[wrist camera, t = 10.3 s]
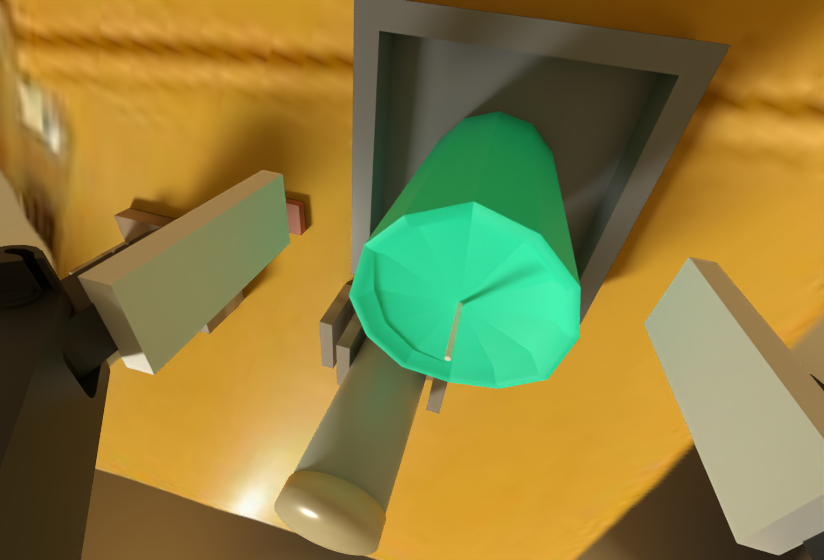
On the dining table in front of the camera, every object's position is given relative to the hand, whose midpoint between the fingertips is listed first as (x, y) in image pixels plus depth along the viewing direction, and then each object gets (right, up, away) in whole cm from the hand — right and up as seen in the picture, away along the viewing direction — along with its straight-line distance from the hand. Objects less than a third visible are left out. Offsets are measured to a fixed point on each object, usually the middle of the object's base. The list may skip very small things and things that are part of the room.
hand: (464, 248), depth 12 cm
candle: (+2, +4, +6) cm, 7 cm away
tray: (+2, +4, +6) cm, 8 cm away
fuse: (-2, -5, +12) cm, 13 cm away
